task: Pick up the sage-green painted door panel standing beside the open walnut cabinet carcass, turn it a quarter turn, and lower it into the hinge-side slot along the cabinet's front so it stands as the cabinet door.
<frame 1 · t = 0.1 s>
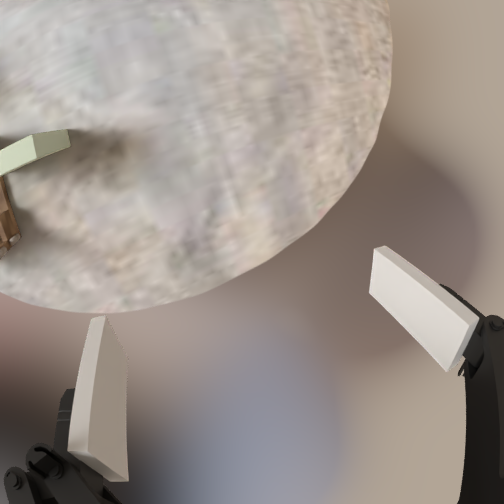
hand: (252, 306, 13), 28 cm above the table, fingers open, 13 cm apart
door: (36, 151, 28), on the table
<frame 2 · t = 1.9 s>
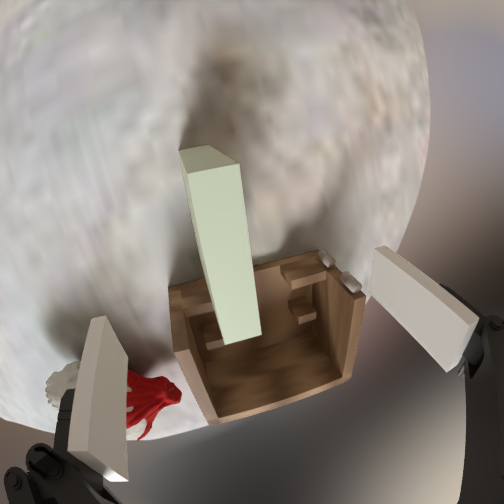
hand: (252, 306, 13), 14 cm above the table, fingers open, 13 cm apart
white and red lump: (119, 373, 31), on the table
door: (203, 208, 25), on the table
cabinet: (252, 313, 32), on the table
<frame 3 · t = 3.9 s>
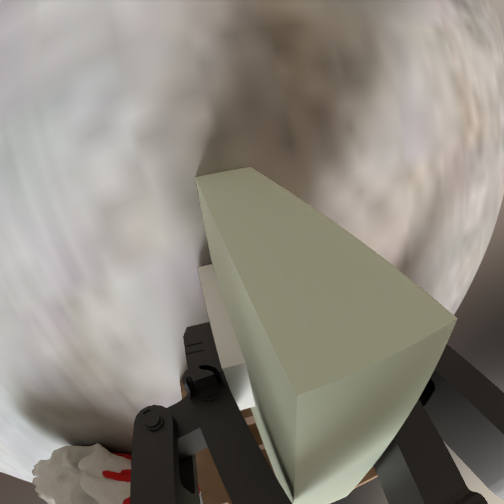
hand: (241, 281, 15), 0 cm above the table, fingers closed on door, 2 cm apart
white and red lump: (120, 455, 21), on the table
door: (239, 276, 15), on the table, touching gripper
cabinet: (294, 396, 22), on the table
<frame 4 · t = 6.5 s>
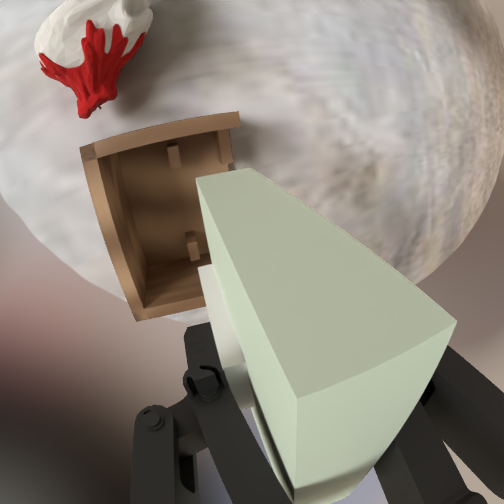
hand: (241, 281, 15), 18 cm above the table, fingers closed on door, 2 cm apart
white and red lump: (103, 49, 20), on the table
door: (239, 277, 15), point 18 cm above the table, touching gripper
cabinet: (174, 197, 30), on the table
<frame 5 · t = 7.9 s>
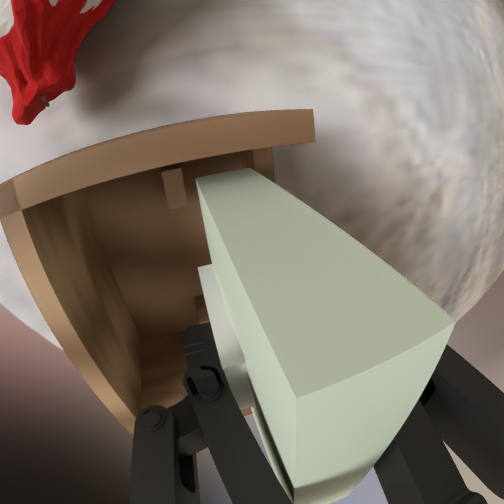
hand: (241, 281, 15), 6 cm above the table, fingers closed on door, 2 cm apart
white and red lump: (65, 15, 10), on the table
door: (239, 277, 15), point 6 cm above the table, touching gripper
cabinet: (177, 244, 19), on the table
when the fingers open (2 cm above the table, at t = 8.7 s): door drops 1 cm, resting on cabinet.
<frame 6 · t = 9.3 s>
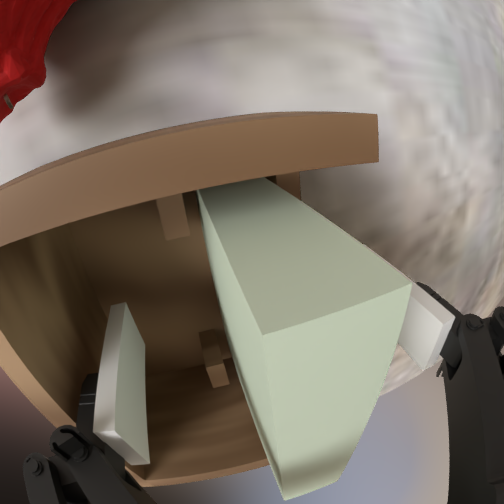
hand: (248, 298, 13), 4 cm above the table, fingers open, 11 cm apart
white and red lump: (43, 0, 7), on the table
door: (233, 268, 16), point 1 cm above the table, touching cabinet
cabinet: (177, 273, 16), on the table
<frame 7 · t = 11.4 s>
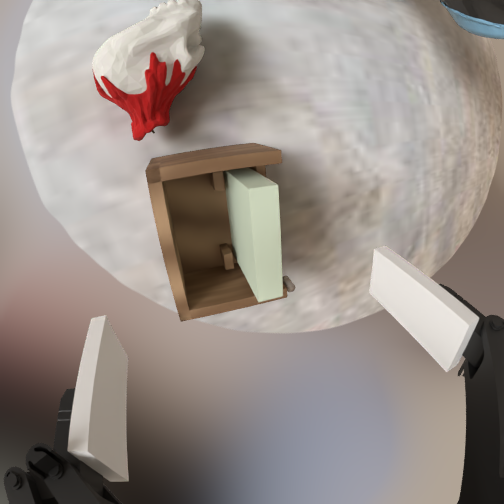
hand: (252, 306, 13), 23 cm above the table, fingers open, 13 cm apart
white and red lump: (150, 74, 26), on the table
door: (238, 210, 35), point 1 cm above the table, touching cabinet
cabinet: (211, 213, 35), on the table
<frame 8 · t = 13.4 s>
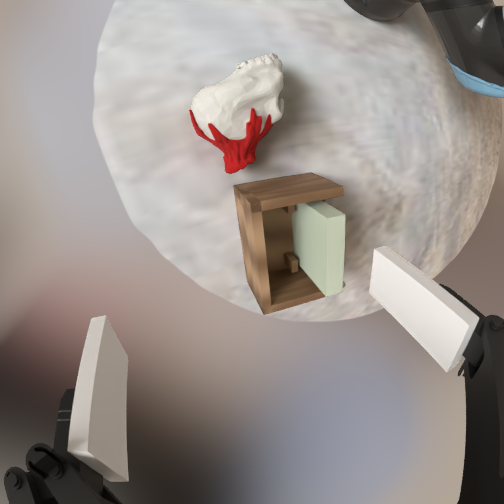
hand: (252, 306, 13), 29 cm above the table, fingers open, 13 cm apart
white and red lump: (230, 114, 35), on the table
door: (299, 226, 44), point 1 cm above the table, touching cabinet
cabinet: (278, 228, 44), on the table
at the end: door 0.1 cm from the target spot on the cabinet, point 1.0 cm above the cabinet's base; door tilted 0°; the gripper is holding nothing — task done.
